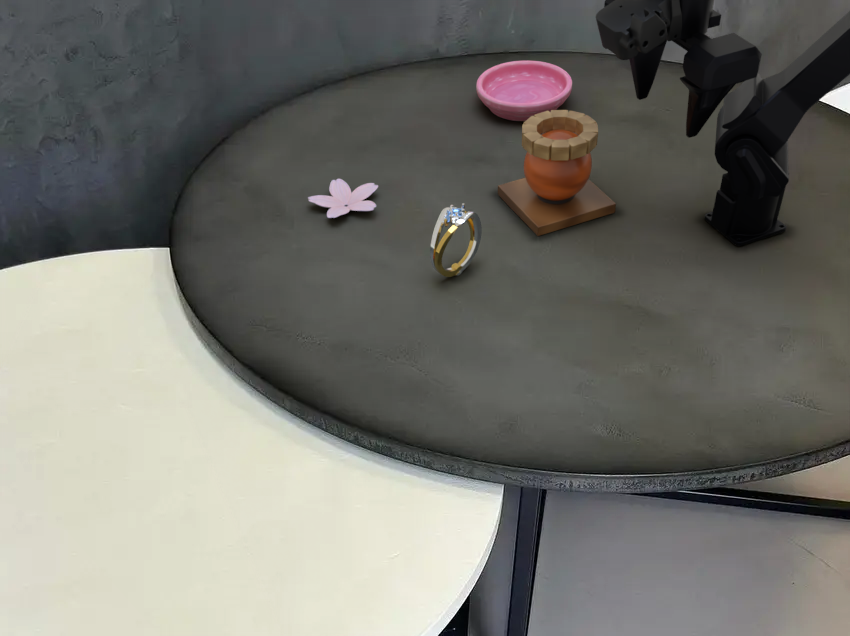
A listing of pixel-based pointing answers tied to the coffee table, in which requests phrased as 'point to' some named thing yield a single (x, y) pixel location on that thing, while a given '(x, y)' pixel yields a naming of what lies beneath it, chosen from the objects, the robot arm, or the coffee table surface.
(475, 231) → the ring
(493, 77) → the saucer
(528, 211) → the ball stand
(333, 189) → the flower
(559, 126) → the ring
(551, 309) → the coffee table surface
